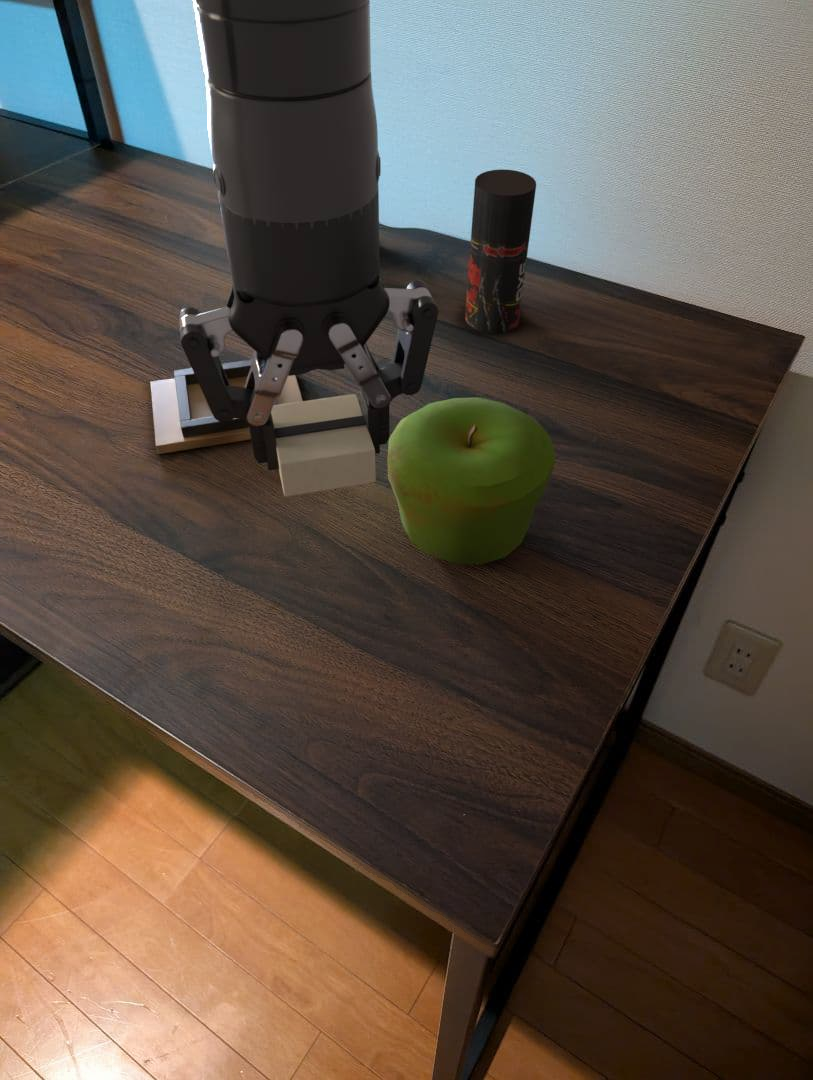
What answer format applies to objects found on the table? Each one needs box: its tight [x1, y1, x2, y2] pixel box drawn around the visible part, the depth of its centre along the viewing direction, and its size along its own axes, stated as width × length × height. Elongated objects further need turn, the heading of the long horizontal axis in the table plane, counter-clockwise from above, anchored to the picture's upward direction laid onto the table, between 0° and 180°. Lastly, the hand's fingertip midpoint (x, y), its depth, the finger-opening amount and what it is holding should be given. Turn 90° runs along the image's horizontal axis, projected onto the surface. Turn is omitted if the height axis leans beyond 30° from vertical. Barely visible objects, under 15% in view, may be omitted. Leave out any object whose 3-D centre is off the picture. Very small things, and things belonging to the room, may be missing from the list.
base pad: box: [149, 359, 304, 455], centre depth 76 cm, size 14×10×2 cm
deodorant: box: [464, 169, 537, 334], centre depth 83 cm, size 6×6×15 cm
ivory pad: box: [271, 393, 377, 497], centre depth 49 cm, size 6×6×3 cm
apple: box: [386, 396, 557, 565], centre depth 62 cm, size 12×12×11 cm
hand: (321, 452), depth 49 cm, fingers closed on ivory pad, 5 cm apart
